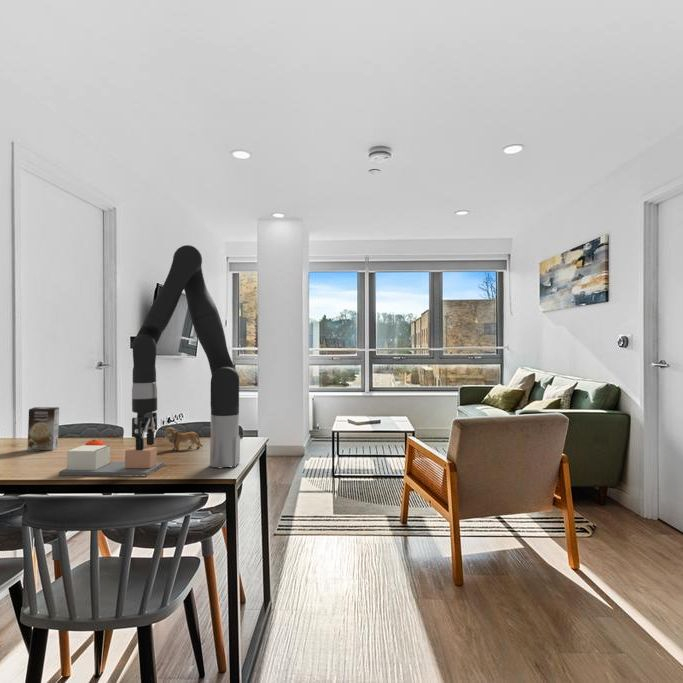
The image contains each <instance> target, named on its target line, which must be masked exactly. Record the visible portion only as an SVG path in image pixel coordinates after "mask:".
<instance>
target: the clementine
mask: <svg viewBox="0 0 683 683" xmlns="http://www.w3.org/2000/svg"><path fill="white" fill-rule="evenodd" d="M84 445H95V446H106V445H105V444H104V442H103V441H102V440H101V439H99V438H98V439H97V438H96V439H95V438H94V439H91V440H89V441H87V442H86V443H85V444H84Z"/></svg>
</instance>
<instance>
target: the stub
mask: <svg viewBox="0 0 683 683" xmlns="http://www.w3.org/2000/svg"><path fill="white" fill-rule="evenodd" d="M157 448H158V447H157V446H155V447H151V446H144V449H143V450H136V446H132V447H130V448H127V449H125V450H124V451H125V452H124V453H125V454H124V462H125V468H151V467H153V466H155V465H156V462H157V454H158V453H157Z"/></svg>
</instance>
